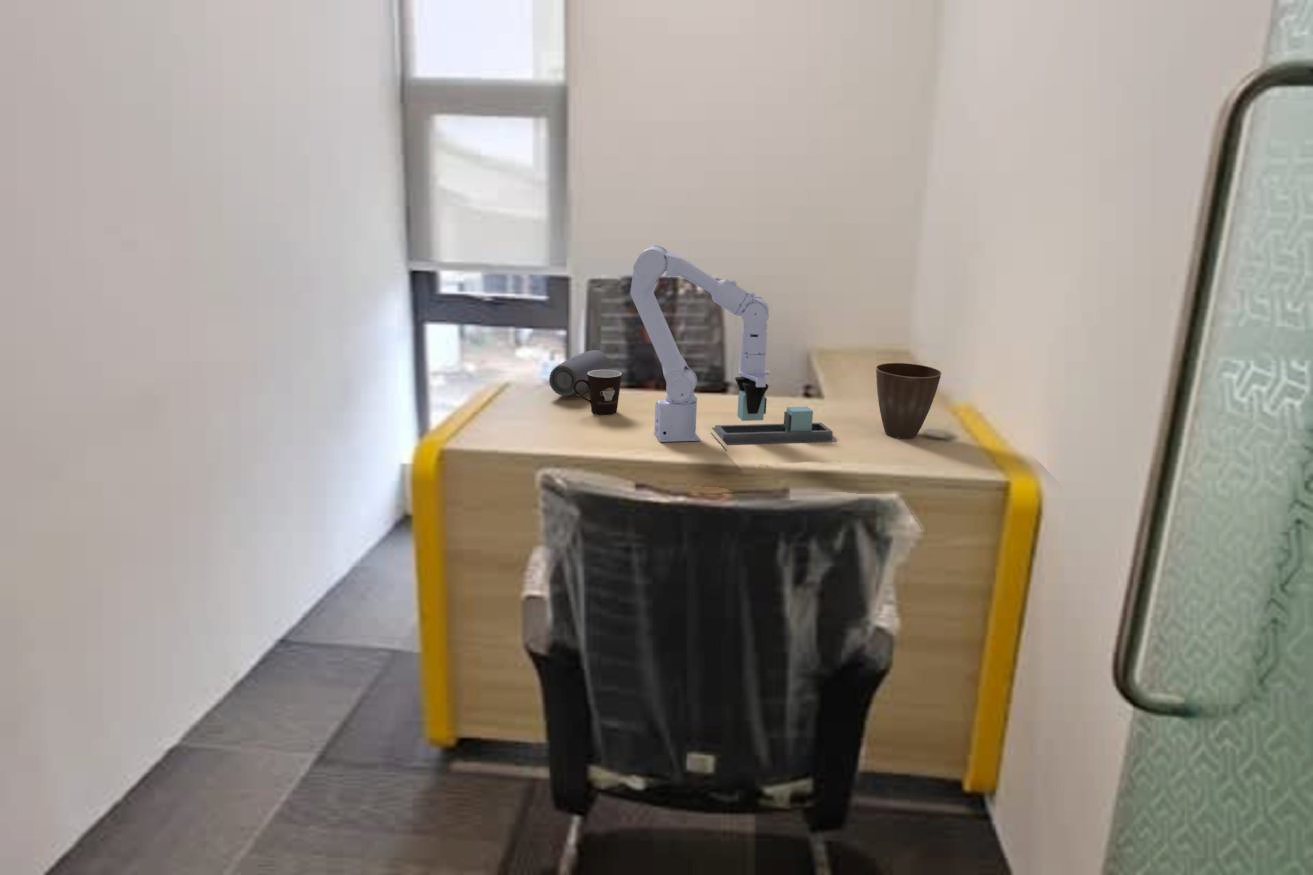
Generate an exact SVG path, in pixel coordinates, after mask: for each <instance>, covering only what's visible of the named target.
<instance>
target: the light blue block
mask: <svg viewBox="0 0 1313 875" xmlns="http://www.w3.org/2000/svg"><path fill="white" fill-rule="evenodd" d="M813 417H814V411H813V410H812V409H811V408H810V407H808V406H787V407H786V411H784V415H783V424H784V426H783V427H785V431H812V423H813Z"/></svg>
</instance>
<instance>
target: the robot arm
mask: <svg viewBox="0 0 1313 875" xmlns="http://www.w3.org/2000/svg"><path fill="white" fill-rule="evenodd" d="M632 269H633V272H632V277H631V285H630V292H629V293H630V297H631V299H632V302H633V303H634V305H635V307H636V308H635V309H636V310H637V312H638V314H639V317H640V319H641V322H642V323H643V326H644V328H645V330H646V332H647V335H648V338H649V339H650V341H651V344H652V346H653V348H654V351H655V353H656V355H657V357H658V360H659V362H660V364H661V369H662V373H663V378H664V380H665V383H666V386H665V391H666V394H667V395H666V396H665V399H660V400H656V401H655V407H654V408H655V409H654V430H653V433H654V434H655V436H656V438H657V439H658V441H659V442H660V443H664V442H665V443H666V442H667V443H668V442H671V443H672V442H694V441H697V442H699V441H701V437H699V435H698V434H697V433H696V431H697V410H698V409H697V408H698V397H697V396H696V395H695V394H694V391H695V389H696V388H697V385H698V377H697V373H695V372H694V371H693V370H692V369H691V368H690V367H689V366H688V364H687V361H686V360H685V359H684V358H683V356H682V355H681V353H680V350H679V348H678V346H677V344H676V341H675V339H674V336H673V334H672V332H671V329H670V327H669V325H668V323H667V320H666V317H665V315H664V313H663V311H662V309H661V307H660V305H659V302H658V300H657V298H656V297H657V296H655V295H656V294H655V289H656V287H657V285H658V282H659V280H660V278H661V276H663V275H664V274H665V277H681V278H682V279H684V280H686V281H688V282H690V283H691V284H694V285H695V286H697V287H699V288H701V289H702V290H705V291H706V292H708V293H710V295H711V299H712V301H713V302H714V303H715V304H717V305H719V306H720V307H722V308H724V309H725V310H727V311H728V312H730V313H731V314H734V315H735V316H739V317H741V318H742V321H743V324H742V331H741V341H740V354H739V355H740V356H739V364H738V376H736V377H735V378H734V379H735V382H736V384H737V387H738V392H739V391H745V393H746V399H747V410H748V413H749V414H757V413H758V411H759V407H760V404H761V401H762V398H763V396H764V394H765V393H766V392H767V391H768V389H769V384H767V382H766V381H767V379H766V376H769V375H771V371H770V370H766V361H767V346H768V344H767V343H768V331H767V330H768V323H767V322H768V320H769V318H770V314H769V312H770V308H769V305H768V303H767V302H766V301H765V300H764V298H762V296H758V295H757V296H756V293H755V292H753V291H751V292H749V291H747V290H746V289H743V288H742V287H740V286H739V285H737V284H738V281H736V280H734V279H731V280H729V279H727V278H725V279H721V280H718V279H716V278H715V277H713V276H712V275H711V274H709V273H707V272H705V271H704V270H702V269H701V268H700V267H698V266H697V265H695V264H694V263H692V262H691V261H689V260H687V259H686V258H684V257H682V256H680V255H678V254H677V253H675V252H674V251H670V250H667V249H666V248H664V247H663V246H661V245H651V246H649V247H648V248H647V249H645V250H643V251H641V253H640V254H639V255H638V257H637V259H636V260H635V262H634V264H633V266H632ZM765 395H766V394H765Z"/></svg>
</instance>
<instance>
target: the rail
mask: <svg viewBox="0 0 1313 875" xmlns="http://www.w3.org/2000/svg"><path fill="white" fill-rule="evenodd" d="M783 426H784V423H757V424H756V423H751V424H718V425H717V424H716V425H715V426H714V427H711V429H712V431H714V432H715V433H716V435H717V436H718V437H719V438H720V440H722V442H723V443H724V444H725V445H726V446H742V445H743V446H745V445H747V446H751V445H753V446H755V445H783V444H815V443H816V444H817V443H819V444H820V443H822V444H823V443H838V440H836V439H834V437H833V435H834V434H833V433H834V432H833V430H832V429H830V428H829V427H827V425H825V424H823V423H822V422H812V431H785V427H783ZM710 435H712V437H713V438H714V439H715V440H716V441H717V442H718V443H719V445H720V444H721V445H720V446H721V447H722V448H723V450H725V452H726V451H728V450H727V449H726V447H724V446H723V444H722V443H721V442H720V441H719V440H718V438H717V437H716V436H715V435H714V434H713V433H712V432H711V433H710Z"/></svg>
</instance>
